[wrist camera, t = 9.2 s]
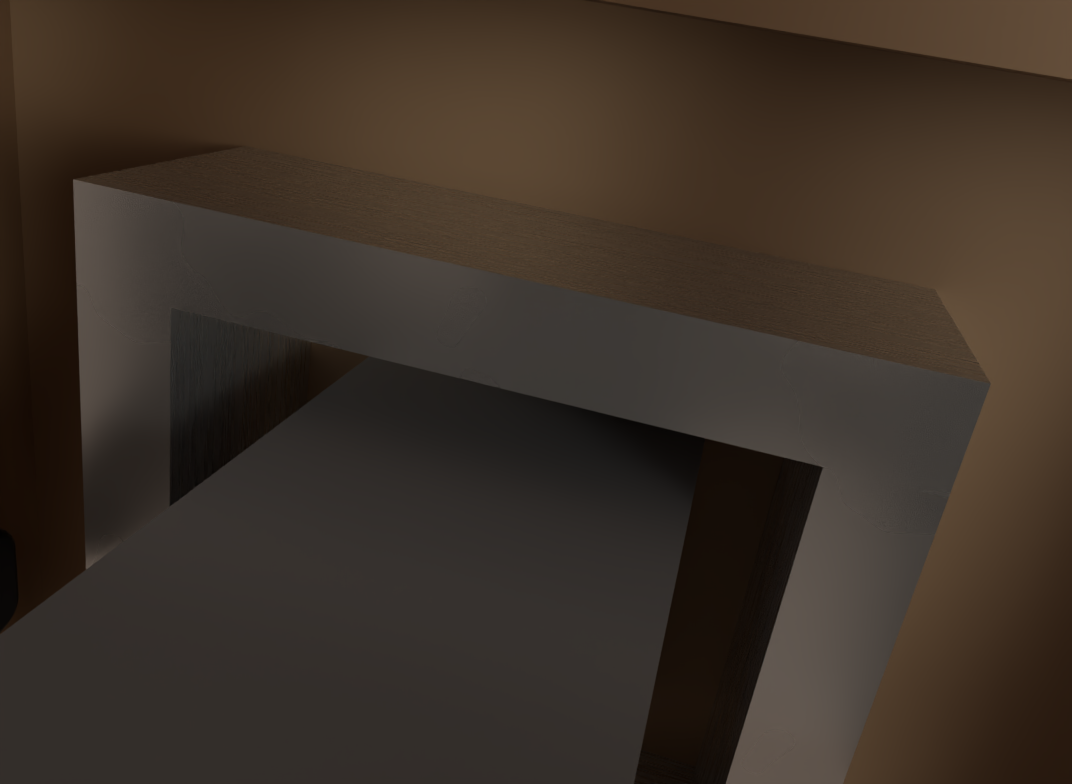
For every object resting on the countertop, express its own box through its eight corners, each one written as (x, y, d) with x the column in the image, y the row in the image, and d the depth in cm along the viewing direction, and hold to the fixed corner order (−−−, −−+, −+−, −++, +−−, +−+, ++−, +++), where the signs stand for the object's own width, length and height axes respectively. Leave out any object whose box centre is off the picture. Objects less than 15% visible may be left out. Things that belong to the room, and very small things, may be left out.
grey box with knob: (709, 417, 11) (485, 1509, 3) (641, 688, 13) (362, 1907, 4) (390, 340, 12) (-543, 1043, 3) (361, 606, 13) (-331, 1526, 5)
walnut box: (1713, 93, 8) (2412, 130, 5) (1111, 1078, 14) (1227, 1450, 10) (-7, -171, 12) (-373, -268, 8) (44, 720, 17) (-160, 907, 13)
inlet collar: (935, 289, 10) (990, 382, 7) (751, 843, 13) (741, 1057, 10) (246, 146, 11) (72, 179, 9) (226, 678, 14) (94, 828, 12)
